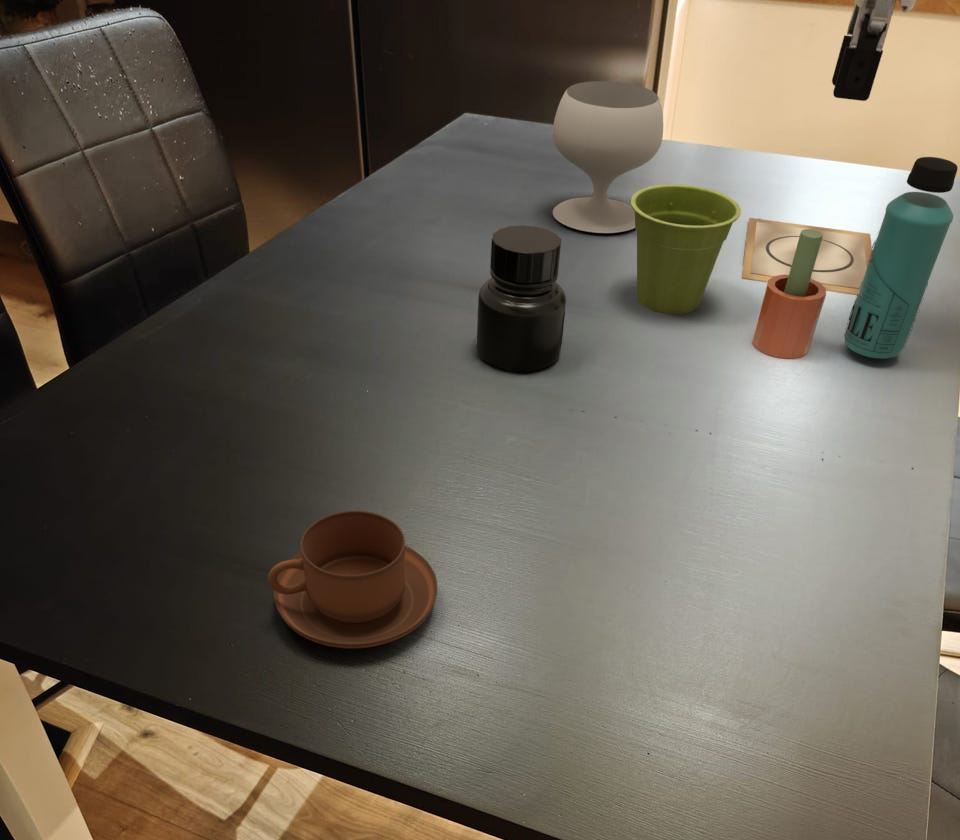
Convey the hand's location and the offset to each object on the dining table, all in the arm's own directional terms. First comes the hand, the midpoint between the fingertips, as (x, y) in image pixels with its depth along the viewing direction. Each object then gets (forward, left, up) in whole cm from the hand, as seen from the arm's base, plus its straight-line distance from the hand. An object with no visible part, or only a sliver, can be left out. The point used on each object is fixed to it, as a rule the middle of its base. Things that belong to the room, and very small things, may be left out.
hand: (849, 90), depth 88 cm
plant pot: (+13, -3, -24) cm, 28 cm away
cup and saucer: (+30, +56, -24) cm, 68 cm away
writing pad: (-3, -22, -24) cm, 33 cm away
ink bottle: (+27, +14, -24) cm, 39 cm away
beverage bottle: (-9, +3, -24) cm, 26 cm away
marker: (0, +4, -24) cm, 24 cm away
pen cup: (0, +4, -24) cm, 25 cm away
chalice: (+25, -26, -24) cm, 44 cm away
